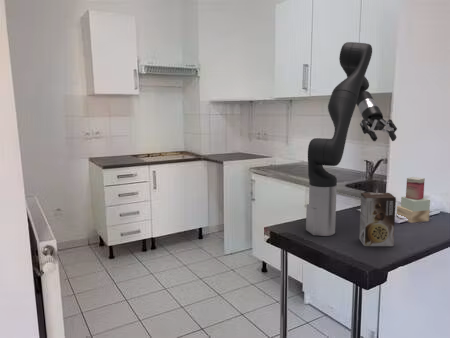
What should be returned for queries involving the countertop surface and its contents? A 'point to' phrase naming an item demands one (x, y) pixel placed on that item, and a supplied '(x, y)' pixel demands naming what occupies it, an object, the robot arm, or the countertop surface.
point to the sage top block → (415, 204)
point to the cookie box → (377, 219)
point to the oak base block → (413, 214)
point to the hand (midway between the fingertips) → (385, 139)
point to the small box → (415, 188)
